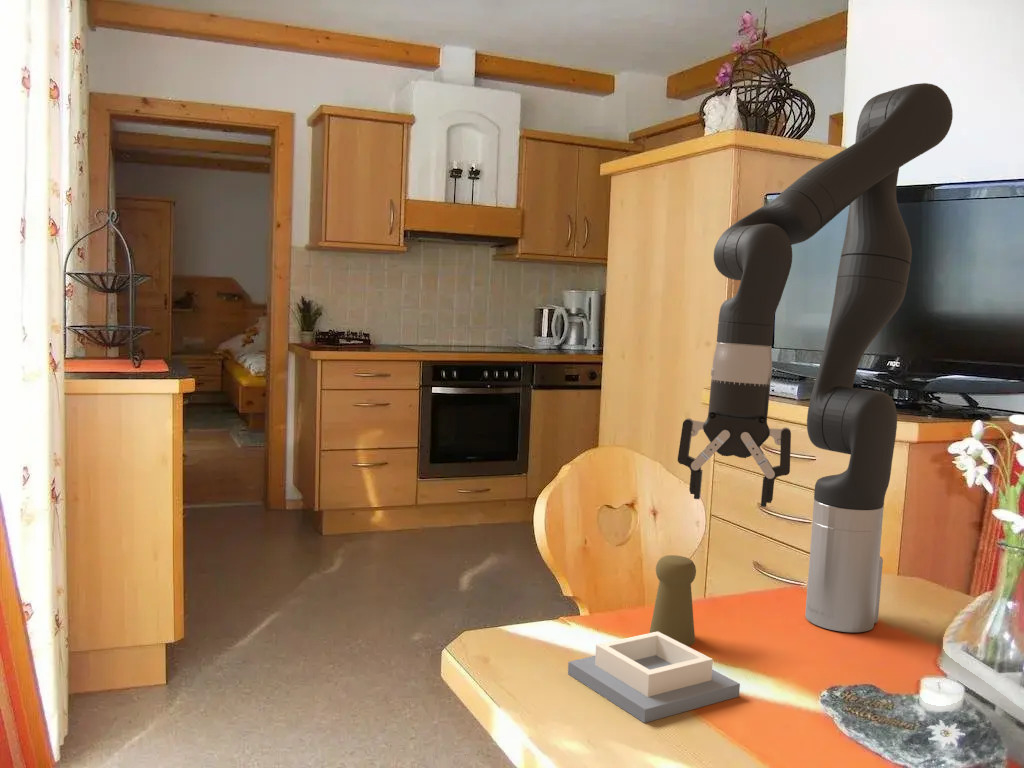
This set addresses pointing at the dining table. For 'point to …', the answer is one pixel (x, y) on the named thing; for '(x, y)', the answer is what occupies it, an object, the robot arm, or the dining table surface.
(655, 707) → the board
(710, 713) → the dining table surface
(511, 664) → the dining table surface
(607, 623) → the dining table surface
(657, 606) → the olive brown knobbed peg
